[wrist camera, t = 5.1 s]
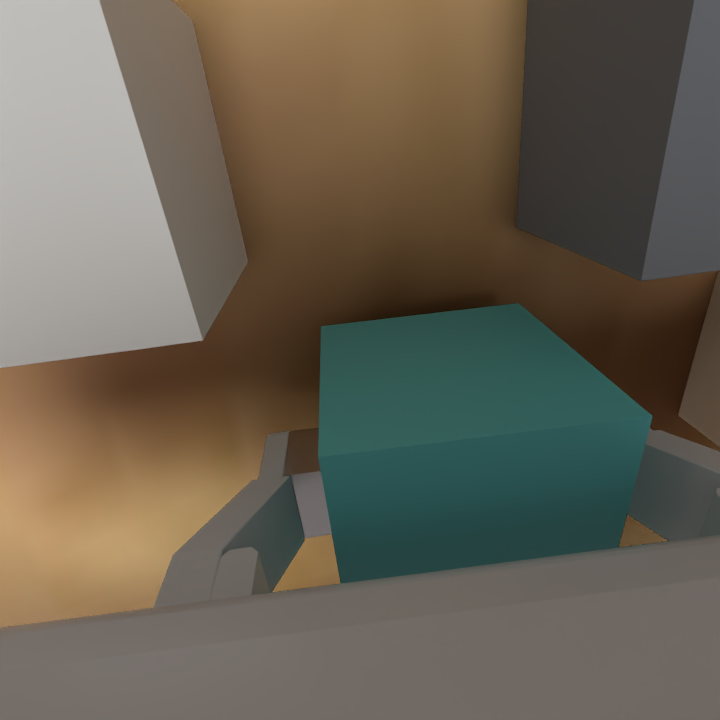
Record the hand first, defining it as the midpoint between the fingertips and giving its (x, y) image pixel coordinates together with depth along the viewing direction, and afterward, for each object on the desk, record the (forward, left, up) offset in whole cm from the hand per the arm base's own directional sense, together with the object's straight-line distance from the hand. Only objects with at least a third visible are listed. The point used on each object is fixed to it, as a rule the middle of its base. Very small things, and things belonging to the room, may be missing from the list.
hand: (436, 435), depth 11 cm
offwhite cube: (+7, -7, -3) cm, 10 cm away
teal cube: (0, 0, -2) cm, 2 cm away
